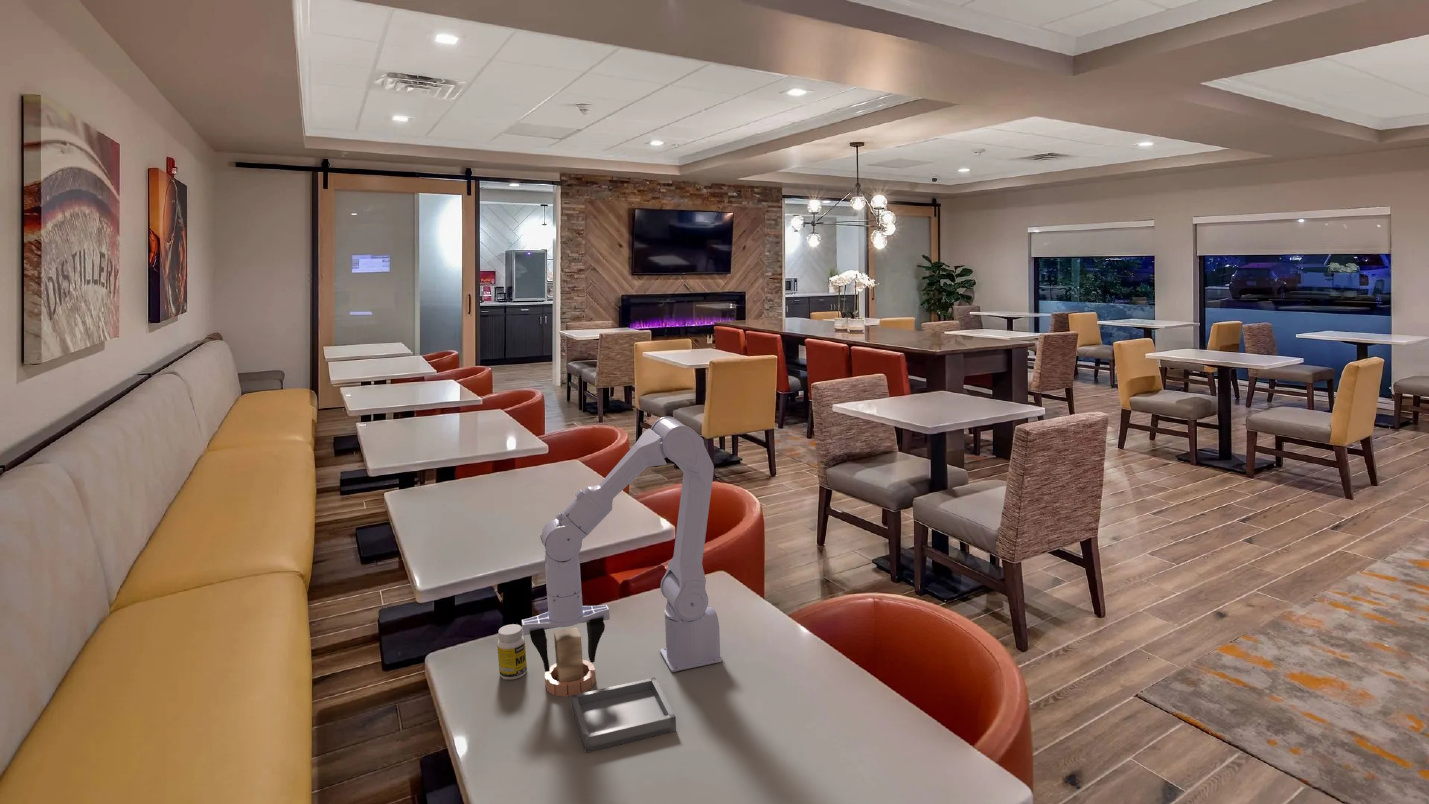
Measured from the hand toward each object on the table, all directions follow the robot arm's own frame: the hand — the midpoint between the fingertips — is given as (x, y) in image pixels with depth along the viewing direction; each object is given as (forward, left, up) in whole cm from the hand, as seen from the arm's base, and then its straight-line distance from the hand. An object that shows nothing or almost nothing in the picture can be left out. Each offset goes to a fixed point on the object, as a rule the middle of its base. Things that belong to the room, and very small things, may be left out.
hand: (569, 664), depth 128 cm
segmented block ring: (0, 0, -3) cm, 3 cm away
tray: (-6, +14, -3) cm, 16 cm away
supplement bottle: (+9, -7, -4) cm, 12 cm away
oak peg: (0, 0, -3) cm, 3 cm away
